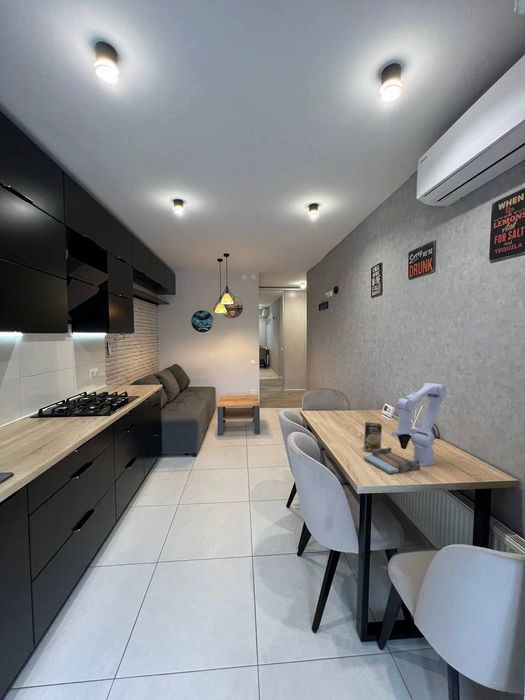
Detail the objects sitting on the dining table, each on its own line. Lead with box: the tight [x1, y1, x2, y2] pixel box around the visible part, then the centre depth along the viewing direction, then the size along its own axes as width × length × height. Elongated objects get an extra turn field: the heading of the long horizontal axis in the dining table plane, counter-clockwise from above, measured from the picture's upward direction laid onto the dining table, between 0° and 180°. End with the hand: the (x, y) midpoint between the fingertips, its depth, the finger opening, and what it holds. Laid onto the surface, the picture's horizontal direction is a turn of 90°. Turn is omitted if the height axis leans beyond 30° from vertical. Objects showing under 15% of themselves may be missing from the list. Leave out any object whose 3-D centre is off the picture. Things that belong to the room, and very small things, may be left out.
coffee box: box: [363, 421, 383, 453], centre depth 177 cm, size 9×6×16 cm
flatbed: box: [371, 447, 421, 474], centre depth 159 cm, size 13×20×4 cm, turn 21°
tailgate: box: [363, 454, 399, 474], centre depth 155 cm, size 1×19×6 cm
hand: (403, 448), depth 152 cm, fingers closed
